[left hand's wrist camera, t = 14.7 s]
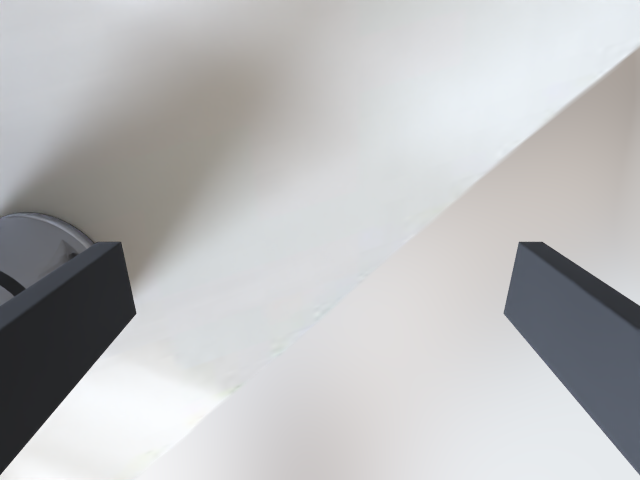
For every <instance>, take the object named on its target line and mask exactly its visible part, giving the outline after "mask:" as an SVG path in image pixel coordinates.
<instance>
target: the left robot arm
mask: <svg viewBox="0 0 640 480" xmlns="http://www.w3.org/2000/svg"><path fill="white" fill-rule="evenodd" d="M504 314H505V316H506V317H507V318H508V319H509V320H510V322H511V323H512V324H513V325H514V326H515V328H516V329H517V330H518V331H519V332H520V333H521V335H522V336H523V337H524V338H525V339H526V341H527V342H528V343H529V344H530V345H531V347H532V348H533V349H534V350H535V351H536V352H537V354H538V355H539V356H540V357H541V358H542V360H543V361H544V362H545V363H546V364H547V366H548V367H549V368H550V369H551V370H552V371H553V373H554V374H555V375H556V376H557V377H558V379H559V380H560V381H561V382H562V383H563V384H564V386H565V387H566V388H567V389H568V390H569V392H570V393H571V394H572V395H573V396H574V398H575V399H576V400H577V401H578V402H579V403H580V405H581V406H582V407H583V408H584V409H585V411H586V412H587V413H588V414H589V415H590V416H591V418H592V419H593V420H594V421H595V422H596V424H597V425H598V426H599V427H600V428H601V430H602V431H603V432H604V433H605V434H606V436H607V437H608V438H609V439H610V440H611V441H612V443H613V444H614V445H615V446H616V447H617V449H618V450H619V451H620V452H621V453H622V454H623V456H624V457H625V458H626V459H627V460H628V462H629V463H630V464H631V465H632V466H633V468H634V469H635V470H636V471H637V472H638V473H639V475H640V306H639V305H637V304H636V303H634V302H633V301H631V300H630V299H628V298H627V297H625V296H624V295H622V294H621V293H619V292H618V291H616V290H615V289H613V288H612V287H610V286H609V285H607V284H606V283H604V282H602V281H601V280H599V279H598V278H596V277H595V276H593V275H592V274H590V273H589V272H587V271H586V270H584V269H583V268H581V267H580V266H578V265H577V264H575V263H574V262H572V261H571V260H569V259H567V258H566V257H564V256H563V255H561V254H560V253H558V252H557V251H555V250H554V249H552V248H551V247H549V246H548V245H546V244H545V243H543V242H519V244H518V249H517V254H516V258H515V263H514V268H513V272H512V277H511V282H510V286H509V291H508V296H507V300H506V305H505V310H504ZM135 315H136V309H135V305H134V300H133V295H132V291H131V286H130V282H129V277H128V272H127V268H126V263H125V258H124V254H123V249H122V244H121V242H97V243H95V244H94V243H93V242H92V241H91V240H90V239H89V238H88V237H87V236H86V235H85V234H83V233H82V232H81V231H80V230H78V229H77V228H75V227H73V226H72V225H70V224H68V223H66V222H64V221H62V220H60V219H57V218H54V217H51V216H48V215H44V214H39V213H15V214H10V215H7V216H4V217H1V218H0V475H1V473H2V472H3V471H4V470H5V469H6V468H7V466H8V465H9V464H10V463H11V462H12V460H13V459H14V458H15V457H16V456H17V454H18V453H19V452H20V451H21V450H22V449H23V447H24V446H25V445H26V444H27V443H28V441H29V440H30V439H31V438H32V437H33V436H34V434H35V433H36V432H37V431H38V430H39V428H40V427H41V426H42V425H43V424H44V422H45V421H46V420H47V419H48V418H49V417H50V415H51V414H52V413H53V412H54V411H55V409H56V408H57V407H58V406H59V405H60V403H61V402H62V401H63V400H64V399H65V398H66V396H67V395H68V394H69V393H70V392H71V390H72V389H73V388H74V387H75V386H76V385H77V383H78V382H79V381H80V380H81V379H82V377H83V376H84V375H85V374H86V373H87V371H88V370H89V369H90V368H91V367H92V366H93V364H94V363H95V362H96V361H97V360H98V358H99V357H100V356H101V355H102V354H103V353H104V351H105V350H106V349H107V348H108V347H109V345H110V344H111V343H112V342H113V341H114V339H115V338H116V337H117V336H118V335H119V334H120V332H121V331H122V330H123V329H124V328H125V326H126V325H127V324H128V323H129V322H130V320H131V319H132V318H133V317H134V316H135Z"/></svg>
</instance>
